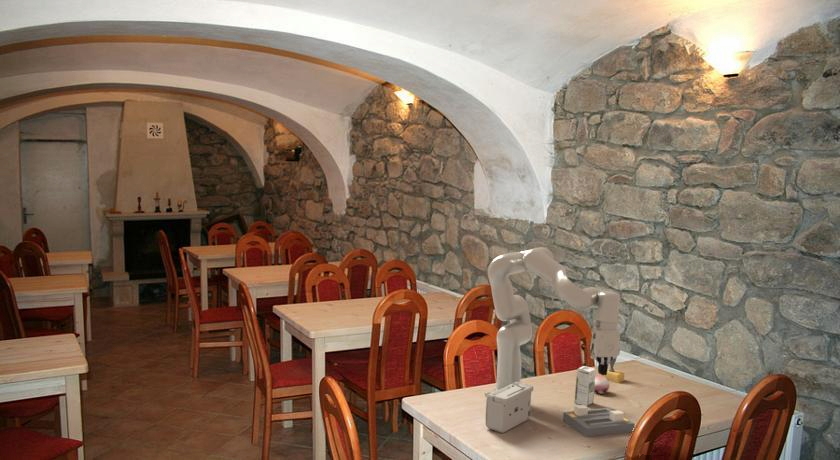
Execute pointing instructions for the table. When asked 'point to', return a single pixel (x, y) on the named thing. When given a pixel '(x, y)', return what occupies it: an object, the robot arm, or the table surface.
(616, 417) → the front tab
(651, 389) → the table surface
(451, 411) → the table surface
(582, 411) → the back tab
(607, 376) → the rubber stamp
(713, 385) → the table surface
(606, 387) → the apple
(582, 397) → the syrup box
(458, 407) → the table surface
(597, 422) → the switch panel
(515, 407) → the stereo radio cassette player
